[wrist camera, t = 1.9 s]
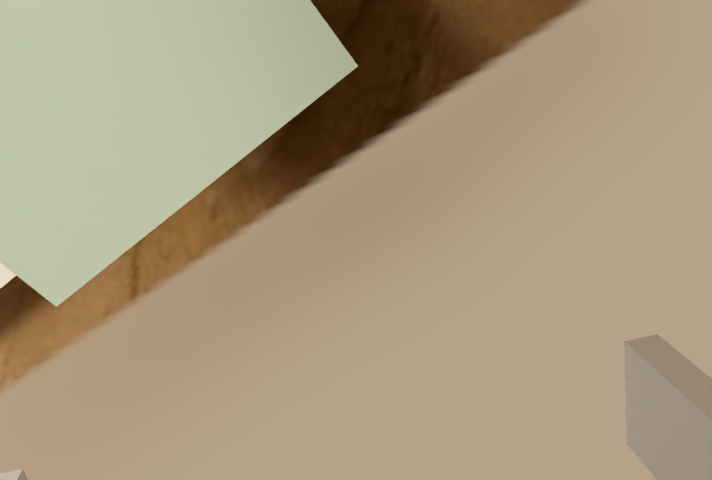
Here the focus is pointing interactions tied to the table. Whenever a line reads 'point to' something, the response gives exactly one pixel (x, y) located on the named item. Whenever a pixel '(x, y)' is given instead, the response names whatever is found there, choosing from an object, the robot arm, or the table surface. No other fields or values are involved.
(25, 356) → the table surface
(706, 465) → the robot arm
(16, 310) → the table surface
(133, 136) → the mint green toy table
